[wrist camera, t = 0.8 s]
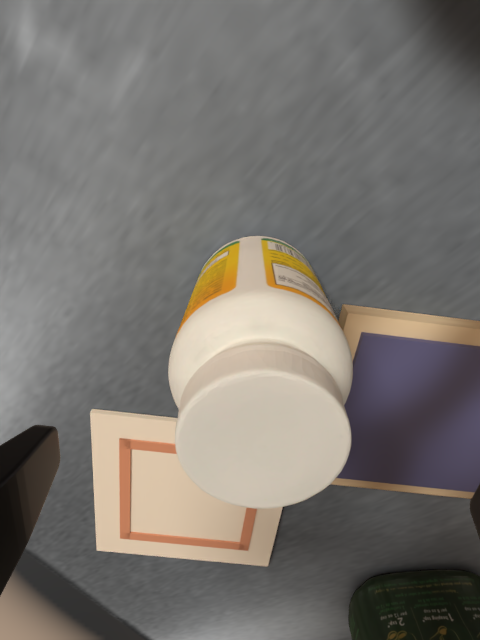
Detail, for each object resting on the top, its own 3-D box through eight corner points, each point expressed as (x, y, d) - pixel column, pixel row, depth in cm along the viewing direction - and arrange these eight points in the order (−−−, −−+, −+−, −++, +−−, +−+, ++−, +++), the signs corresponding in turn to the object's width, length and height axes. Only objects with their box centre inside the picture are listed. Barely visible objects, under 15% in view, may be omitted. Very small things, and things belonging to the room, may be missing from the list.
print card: (300, 431, 20) (300, 436, 20) (267, 561, 25) (267, 568, 25) (92, 408, 20) (89, 413, 20) (98, 545, 25) (96, 552, 24)
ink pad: (554, 330, 18) (576, 344, 17) (472, 485, 22) (484, 504, 21) (342, 304, 17) (349, 315, 16) (300, 466, 22) (303, 485, 20)
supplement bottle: (314, 227, 16) (398, 331, 7) (316, 341, 18) (380, 523, 10) (186, 239, 16) (119, 353, 8) (203, 349, 18) (166, 534, 10)
